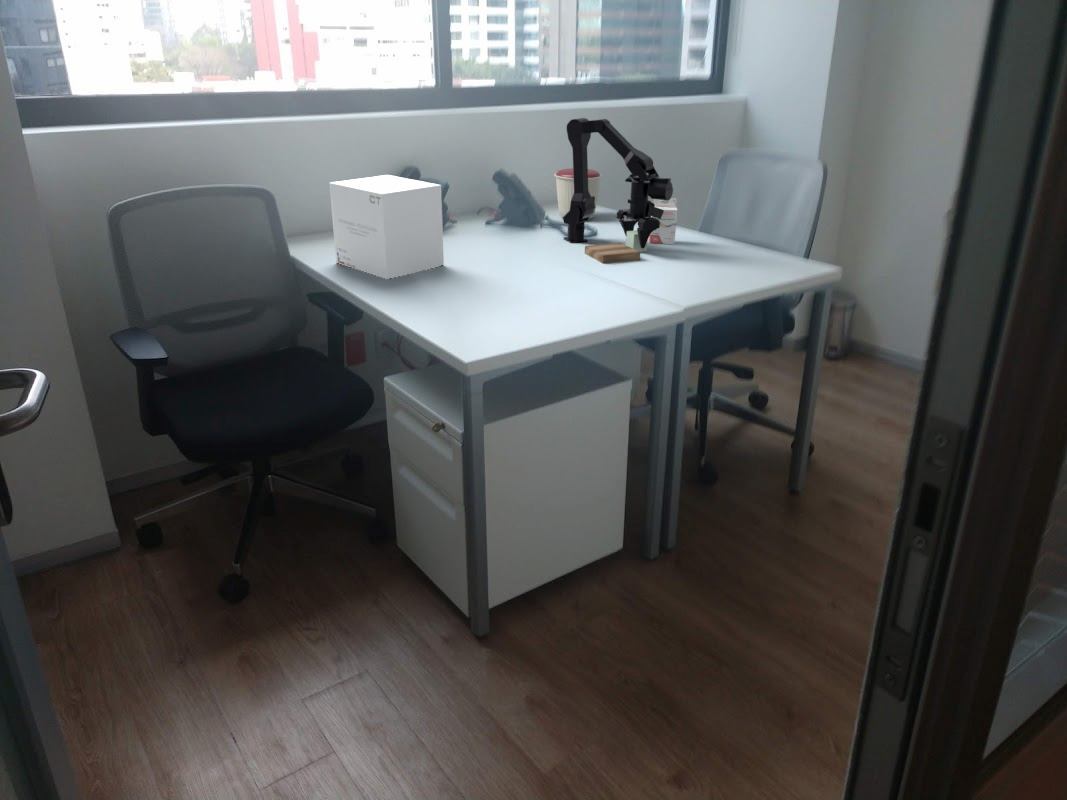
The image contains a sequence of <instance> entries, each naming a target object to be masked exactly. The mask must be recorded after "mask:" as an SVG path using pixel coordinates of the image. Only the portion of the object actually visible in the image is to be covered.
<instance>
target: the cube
mask: <svg viewBox="0 0 1067 800" xmlns="http://www.w3.org/2000/svg"><path fill="white" fill-rule="evenodd" d="M328 185H329V186H328V187H329V196H330V207H331V217H332V218H331V219H332V231H333V241H334V242H333V243H334V252H335V254H334V255H335V263H336V264H337V263H339V264H338V265H340V264H342V265H341V266H343V265H345V266H344V267H346V266H348V267H347V268H349V267H352V268H351V269H353V268H355V269H354V270H356V269H358V270H357V271H359V270H361V271H360V272H362V271H364V272H363V273H365V272H367V273H366V274H368V273H370V274H369V275H371V274H373V275H372V276H374V275H376V277H378V276H379V277H378V278H381V277H382V278H381V279H384V278H385V279H384V280H387V279H388V280H390V279H389V278H392V279H395V278H394V277H396V278H399V277H398V276H400V277H404V276H408V275H407V274H409V275H412V274H411V273H413V274H416V273H415V272H417V273H420V272H419V271H421V272H423V271H422V270H425V271H427V270H426V269H429V268H433V267H438V266H441V265H444V266H445V264H444V262H445V261H444V260H445V259H444V231H443V230H444V229H443V203H442V202H443V200H442V198H443V197H442V184H437V183H433V182H432V183H431V182H427V181H423V180H417V179H411V178H406V177H401V176H396V175H391V174H383V175H376V176H371V177H370V176H369V177H363V178H355V179H354V178H353V179H348V180H340V181H330V182H329V183H328ZM438 268H439V267H438ZM433 269H434V268H433ZM429 270H430V269H429ZM403 275H404V276H403Z"/></svg>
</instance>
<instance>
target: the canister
mask: <svg viewBox="0 0 1067 800" xmlns="http://www.w3.org/2000/svg"><path fill="white" fill-rule="evenodd" d="M553 176H554V177H555V182H556V183H555V186H556V196H557V205H558V213H559V216H560V217H561V218H562V219H563V217H564V216H565V215H566V214H567V213H568V212H569V211H570V203H571V199H572V197H573V194H574V175H573V167H572V168H563V169H559V170H558V171H557V172H555V173H554V174H553ZM602 177H603V175H602V174H601V173H600V171H597V170H595V169H591V168H588V191H589V193H590V195H591V197H592V196H595V207H596V208H597V203H598V197H599V191H600V184H601V178H602ZM596 208H595V209H594V212H593V214H592V215H591V216H590V217H589V220H591V219H593V218H594V216H595V214H596V213H595V212H596Z"/></svg>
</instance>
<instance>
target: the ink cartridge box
mask: <svg viewBox="0 0 1067 800" xmlns="http://www.w3.org/2000/svg"><path fill="white" fill-rule="evenodd" d="M664 201H666V202H664ZM677 202H678V199H677V198H676V197H674V198H673V197H671V199H670V200H669V201H667V200H659V199H652V203H654V204H655V207H656V208H659V209H662V210H664V212H663V214H662V217H661V219H658V218H656V219H658V220H659V221H660V228H657V229H656V230H654V231H653V232H651V234H650V236H649V238H648V240H649V244H660V243H662V244H663V245H665V244H666V245H675V241H676V232H677V231H676V229H677V220H678V207H677V205H678V203H677ZM651 217H653V216H651ZM653 218H655V217H653Z"/></svg>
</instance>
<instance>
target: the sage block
mask: <svg viewBox="0 0 1067 800" xmlns="http://www.w3.org/2000/svg"><path fill="white" fill-rule="evenodd" d="M625 238H626V239H625V245H626V246H629V247H631V248H633V249H635V250H637V251H639V252H640V253H643V252H644V251H646V252H647V246H648V242H647V243H646V245H645V248H641V246H640V241H639V236H638V231H637V229H636V230H634V231H627V235H625ZM644 253H645V252H644Z"/></svg>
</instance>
